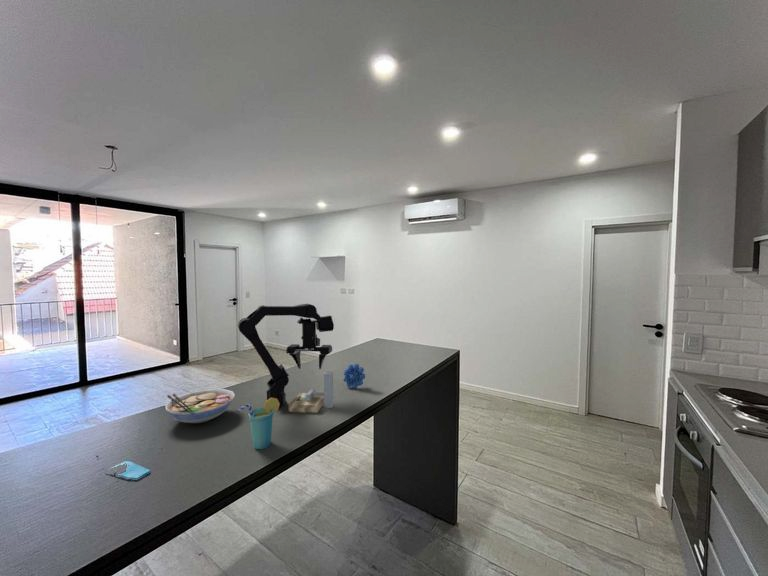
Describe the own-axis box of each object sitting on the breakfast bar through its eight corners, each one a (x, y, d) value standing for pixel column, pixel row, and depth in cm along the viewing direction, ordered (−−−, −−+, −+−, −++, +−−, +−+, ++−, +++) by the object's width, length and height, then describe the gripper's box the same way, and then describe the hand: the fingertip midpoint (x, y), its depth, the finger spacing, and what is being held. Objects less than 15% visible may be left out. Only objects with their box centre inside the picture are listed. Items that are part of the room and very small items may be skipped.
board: (288, 411, 126) (288, 404, 126) (299, 399, 138) (299, 392, 138) (316, 412, 125) (316, 405, 125) (325, 400, 137) (325, 393, 137)
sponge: (127, 483, 83) (151, 468, 88) (103, 471, 88) (127, 457, 93) (128, 488, 83) (152, 473, 88) (104, 476, 88) (128, 462, 94)
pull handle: (306, 408, 129) (305, 374, 128) (311, 402, 135) (310, 370, 134) (330, 409, 128) (330, 375, 127) (334, 403, 134) (334, 370, 133)
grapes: (369, 387, 153) (369, 362, 152) (362, 392, 146) (362, 366, 146) (348, 383, 157) (347, 359, 157) (340, 388, 151) (340, 363, 151)
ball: (309, 399, 129) (305, 408, 130) (312, 395, 133) (309, 404, 134) (300, 395, 130) (296, 404, 130) (303, 392, 134) (300, 400, 134)
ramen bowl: (247, 418, 121) (246, 397, 120) (177, 442, 104) (175, 418, 104) (221, 401, 138) (220, 382, 137) (157, 419, 121) (156, 397, 121)
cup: (246, 461, 94) (244, 410, 93) (231, 452, 98) (229, 404, 97) (285, 440, 105) (284, 395, 104) (270, 433, 109) (269, 390, 109)
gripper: (335, 329, 145) (335, 363, 146) (295, 329, 147) (296, 363, 148) (328, 334, 134) (328, 371, 135) (285, 334, 136) (286, 370, 137)
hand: (309, 368), depth 139 cm, fingers open, 9 cm apart
